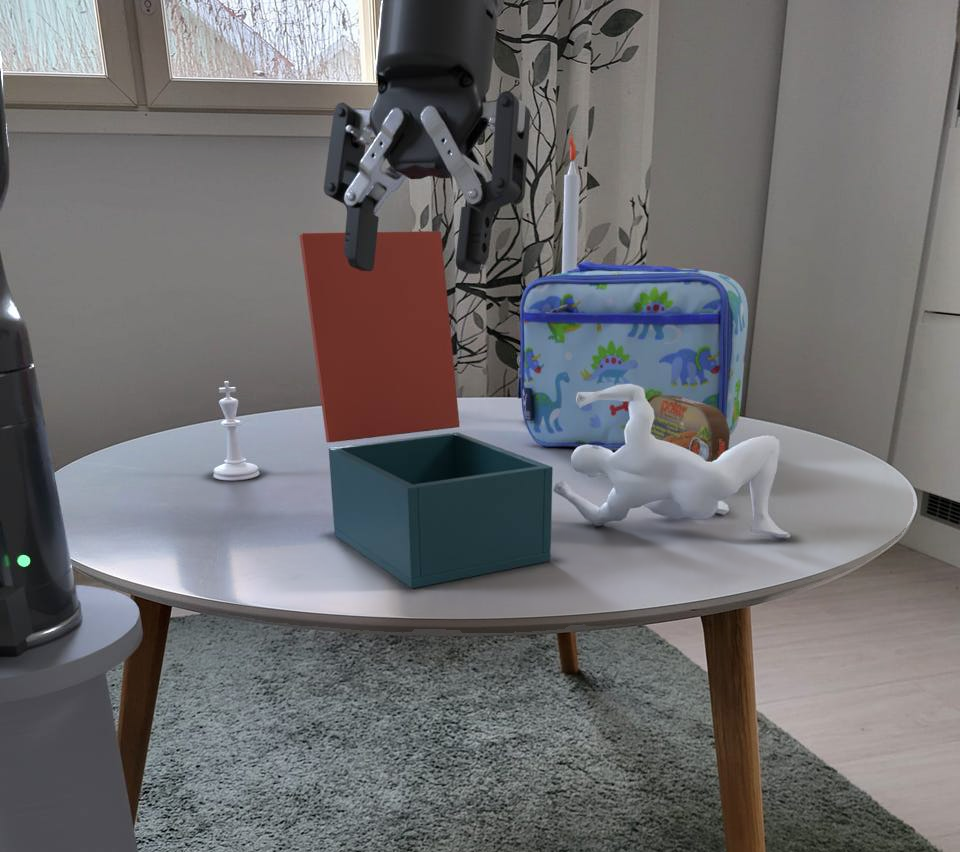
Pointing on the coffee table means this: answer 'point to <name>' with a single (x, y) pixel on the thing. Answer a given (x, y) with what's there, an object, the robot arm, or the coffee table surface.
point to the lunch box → (626, 346)
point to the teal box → (441, 507)
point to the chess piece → (233, 443)
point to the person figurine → (671, 471)
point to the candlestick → (570, 214)
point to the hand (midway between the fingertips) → (412, 270)
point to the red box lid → (381, 336)
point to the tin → (690, 425)
